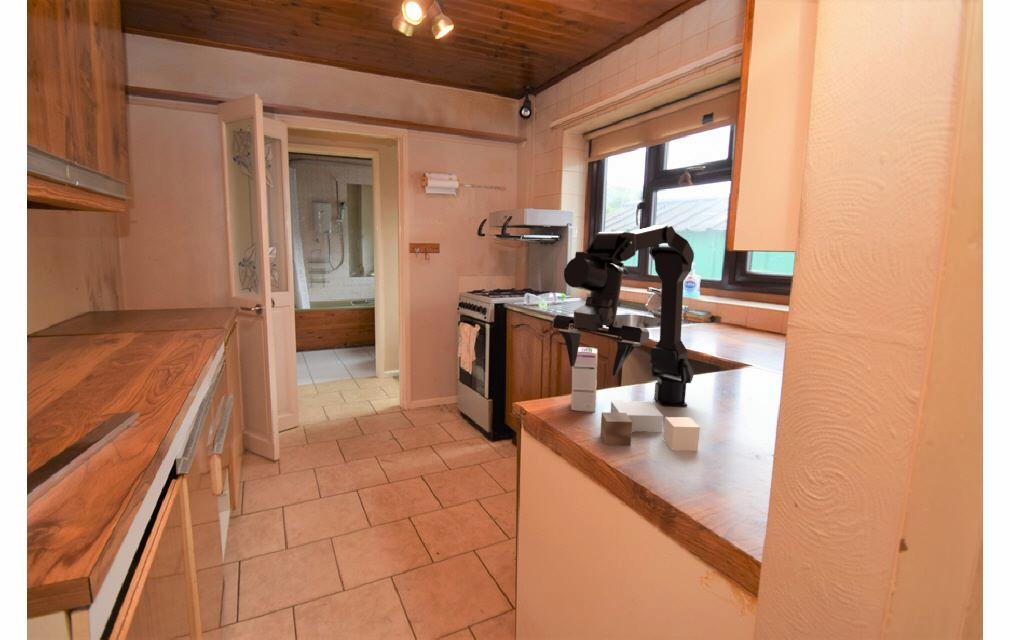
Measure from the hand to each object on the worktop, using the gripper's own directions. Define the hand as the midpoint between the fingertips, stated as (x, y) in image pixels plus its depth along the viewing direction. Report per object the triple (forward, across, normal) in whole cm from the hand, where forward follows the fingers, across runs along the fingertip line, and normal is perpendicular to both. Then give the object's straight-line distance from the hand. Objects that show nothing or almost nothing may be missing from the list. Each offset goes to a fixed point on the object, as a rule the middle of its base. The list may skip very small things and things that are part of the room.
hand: (592, 370), depth 94 cm
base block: (+12, +6, +15) cm, 20 cm away
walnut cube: (+14, +5, +4) cm, 15 cm away
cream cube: (+12, +17, +10) cm, 23 cm away
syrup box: (+12, -8, +18) cm, 23 cm away
